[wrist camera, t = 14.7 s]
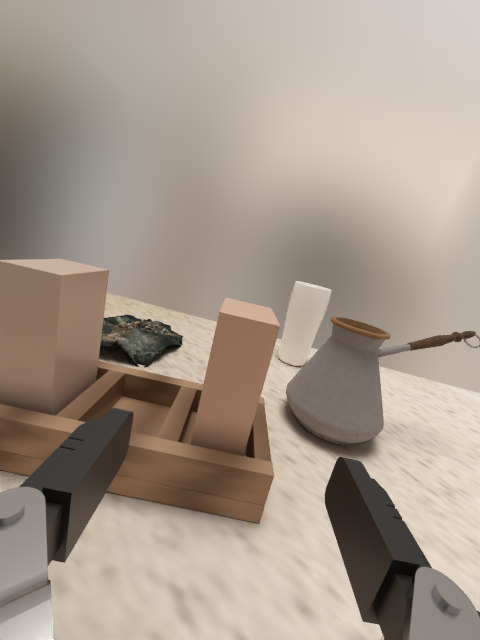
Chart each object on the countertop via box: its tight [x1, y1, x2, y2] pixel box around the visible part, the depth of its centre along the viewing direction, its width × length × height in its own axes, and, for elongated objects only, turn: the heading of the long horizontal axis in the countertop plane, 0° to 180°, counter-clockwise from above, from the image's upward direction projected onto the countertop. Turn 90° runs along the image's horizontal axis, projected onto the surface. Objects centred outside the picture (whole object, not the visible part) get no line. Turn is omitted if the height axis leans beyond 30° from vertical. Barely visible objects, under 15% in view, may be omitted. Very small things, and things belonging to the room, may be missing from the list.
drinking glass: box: [278, 281, 332, 366], centre depth 50 cm, size 7×7×15 cm
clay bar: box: [190, 298, 280, 456], centre depth 21 cm, size 4×6×12 cm, turn 179°
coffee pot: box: [286, 317, 480, 445], centre depth 32 cm, size 21×12×15 cm, turn 98°
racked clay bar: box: [0, 259, 109, 416], centre depth 21 cm, size 4×6×12 cm, turn 179°
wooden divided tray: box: [0, 361, 274, 523], centre depth 22 cm, size 22×10×4 cm, turn 89°
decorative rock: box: [100, 315, 183, 367], centre depth 44 cm, size 19×6×15 cm
